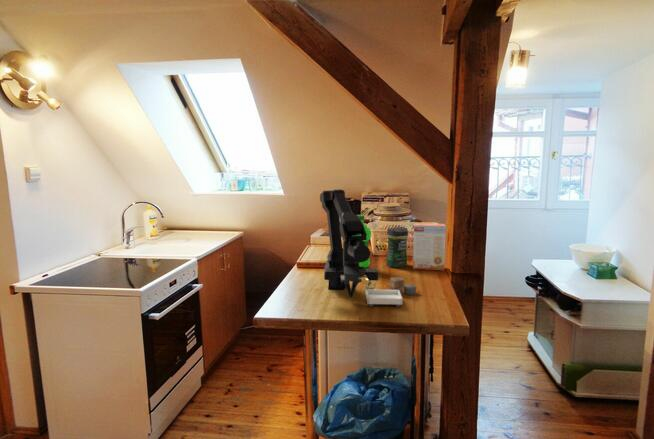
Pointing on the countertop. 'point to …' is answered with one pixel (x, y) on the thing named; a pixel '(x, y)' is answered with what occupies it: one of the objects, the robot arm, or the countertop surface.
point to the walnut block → (397, 284)
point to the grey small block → (409, 289)
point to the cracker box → (429, 246)
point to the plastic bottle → (368, 232)
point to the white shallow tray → (383, 297)
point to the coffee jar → (397, 247)
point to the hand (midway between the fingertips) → (351, 297)
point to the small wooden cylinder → (370, 284)
